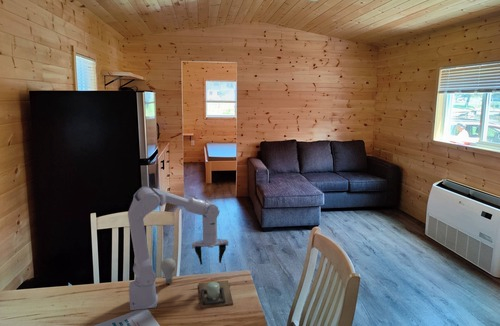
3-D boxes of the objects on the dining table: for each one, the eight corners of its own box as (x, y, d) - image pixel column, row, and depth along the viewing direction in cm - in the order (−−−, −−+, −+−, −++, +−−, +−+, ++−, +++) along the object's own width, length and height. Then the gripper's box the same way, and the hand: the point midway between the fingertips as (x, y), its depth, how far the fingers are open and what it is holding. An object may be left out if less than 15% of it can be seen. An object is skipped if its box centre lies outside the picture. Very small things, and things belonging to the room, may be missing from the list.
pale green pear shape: (206, 293, 141) (206, 281, 140) (218, 291, 142) (218, 280, 141) (207, 302, 135) (207, 290, 134) (220, 300, 136) (220, 288, 135)
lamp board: (200, 308, 133) (200, 306, 133) (198, 284, 148) (198, 283, 148) (233, 304, 135) (233, 303, 135) (227, 281, 150) (227, 280, 150)
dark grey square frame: (202, 305, 134) (202, 302, 133) (201, 292, 142) (201, 289, 141) (225, 302, 135) (225, 299, 135) (222, 290, 143) (222, 287, 143)
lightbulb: (168, 289, 145) (167, 264, 142) (158, 284, 148) (157, 259, 146) (179, 282, 149) (178, 258, 147) (170, 277, 153) (168, 254, 151)
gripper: (191, 237, 139) (192, 269, 142) (229, 234, 141) (229, 265, 144) (191, 229, 146) (192, 260, 149) (227, 227, 148) (227, 257, 151)
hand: (210, 262), depth 147 cm, fingers open, 7 cm apart
